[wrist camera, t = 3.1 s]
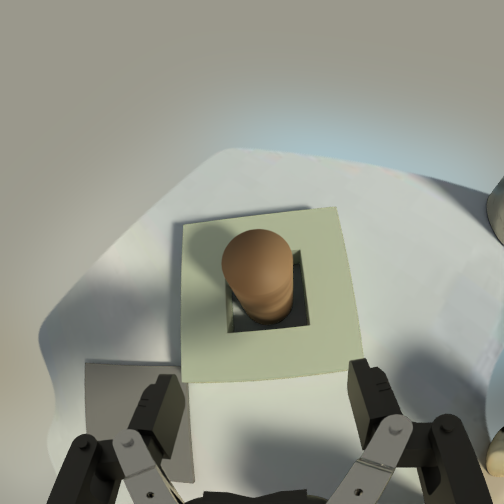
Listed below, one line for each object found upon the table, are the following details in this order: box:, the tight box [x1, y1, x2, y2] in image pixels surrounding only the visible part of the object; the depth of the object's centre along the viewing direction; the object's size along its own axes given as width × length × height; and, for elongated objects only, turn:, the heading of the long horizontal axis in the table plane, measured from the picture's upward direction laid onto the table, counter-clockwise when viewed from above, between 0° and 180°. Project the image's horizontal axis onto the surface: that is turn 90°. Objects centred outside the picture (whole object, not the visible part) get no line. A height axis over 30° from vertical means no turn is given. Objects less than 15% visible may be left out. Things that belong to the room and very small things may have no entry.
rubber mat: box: [85, 363, 195, 483], centre depth 23 cm, size 11×11×1 cm
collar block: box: [181, 207, 364, 383], centre depth 25 cm, size 14×14×3 cm
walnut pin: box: [221, 229, 293, 325], centre depth 23 cm, size 4×4×9 cm
